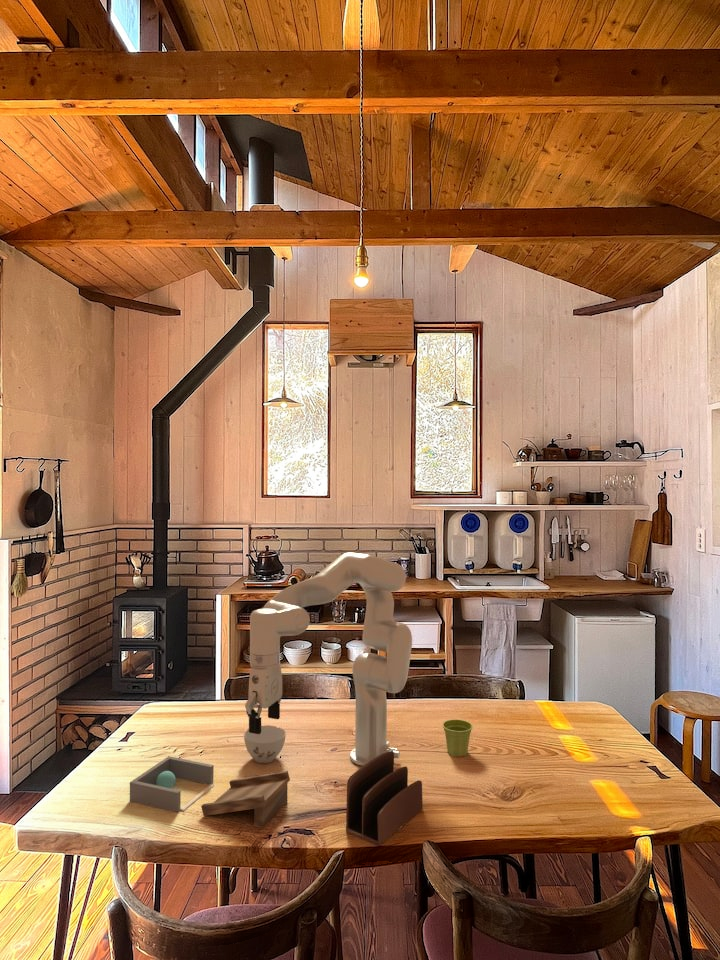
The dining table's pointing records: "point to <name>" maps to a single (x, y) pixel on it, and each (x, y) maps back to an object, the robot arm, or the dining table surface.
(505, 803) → the dining table surface
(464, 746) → the plant pot
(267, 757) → the teacup
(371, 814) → the letter holder
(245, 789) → the walnut ramp
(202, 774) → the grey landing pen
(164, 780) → the teal rubber ball
